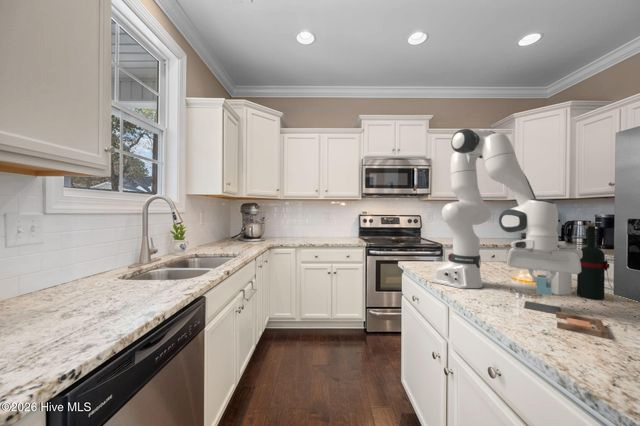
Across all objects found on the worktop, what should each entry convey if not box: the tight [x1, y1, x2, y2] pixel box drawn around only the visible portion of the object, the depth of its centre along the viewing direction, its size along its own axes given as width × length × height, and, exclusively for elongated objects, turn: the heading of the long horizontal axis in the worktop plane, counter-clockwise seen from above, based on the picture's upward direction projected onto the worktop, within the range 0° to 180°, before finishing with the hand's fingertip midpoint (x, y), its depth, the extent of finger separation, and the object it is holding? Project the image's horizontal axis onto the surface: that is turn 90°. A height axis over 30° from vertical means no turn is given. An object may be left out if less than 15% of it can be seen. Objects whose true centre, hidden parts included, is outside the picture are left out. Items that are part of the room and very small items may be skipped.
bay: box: [555, 311, 609, 340], centre depth 80 cm, size 10×11×2 cm
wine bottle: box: [576, 222, 614, 301], centre depth 108 cm, size 8×10×30 cm
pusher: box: [535, 274, 552, 297], centre depth 95 cm, size 4×7×6 cm, turn 140°
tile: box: [566, 318, 593, 329], centre depth 80 cm, size 5×5×2 cm
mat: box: [523, 300, 562, 315], centre depth 95 cm, size 10×10×1 cm
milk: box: [544, 240, 573, 296], centre depth 114 cm, size 6×6×22 cm
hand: (541, 282), depth 95 cm, fingers closed on pusher, 2 cm apart
